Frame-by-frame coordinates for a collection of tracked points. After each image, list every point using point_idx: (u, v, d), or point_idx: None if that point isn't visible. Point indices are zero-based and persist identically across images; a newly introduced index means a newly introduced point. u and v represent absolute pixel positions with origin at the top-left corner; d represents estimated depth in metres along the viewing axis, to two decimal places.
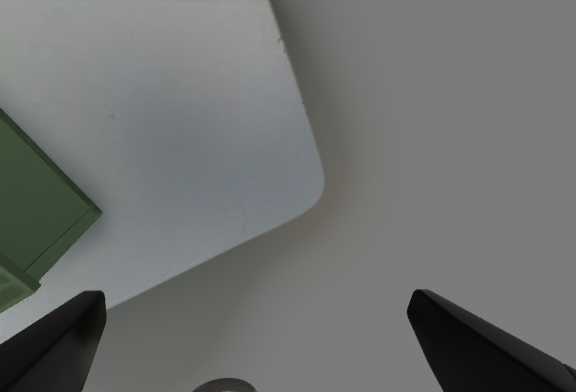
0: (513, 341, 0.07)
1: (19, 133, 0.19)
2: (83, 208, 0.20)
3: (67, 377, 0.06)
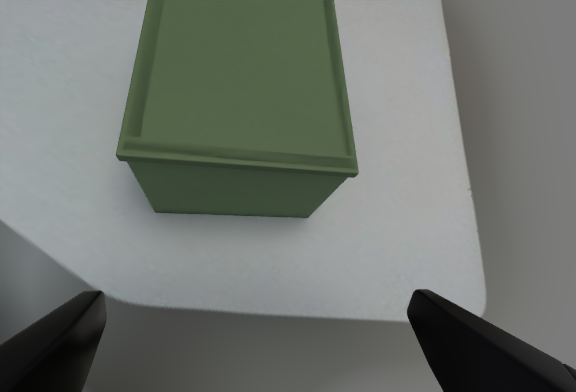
0: (513, 341, 0.07)
1: None
2: None
3: (67, 377, 0.06)
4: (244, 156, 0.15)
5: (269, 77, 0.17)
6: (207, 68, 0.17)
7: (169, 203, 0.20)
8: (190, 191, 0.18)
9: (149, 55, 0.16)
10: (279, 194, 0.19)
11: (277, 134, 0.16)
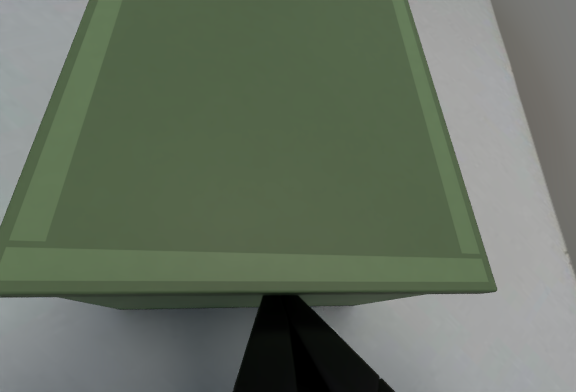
0: (339, 351, 0.06)
1: None
2: None
3: None
4: (278, 272, 0.07)
5: (316, 102, 0.10)
6: (204, 85, 0.09)
7: (138, 306, 0.12)
8: (171, 301, 0.10)
9: (92, 60, 0.08)
10: (326, 298, 0.11)
11: (339, 215, 0.08)
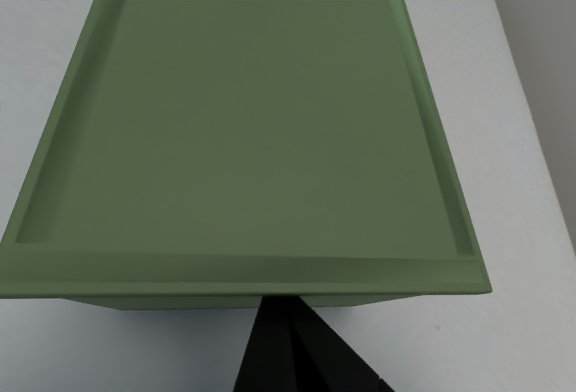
0: (339, 351, 0.06)
1: None
2: None
3: None
4: (277, 274, 0.07)
5: (315, 105, 0.10)
6: (205, 90, 0.09)
7: (139, 306, 0.12)
8: (171, 301, 0.10)
9: (95, 65, 0.08)
10: (325, 299, 0.11)
11: (337, 217, 0.08)
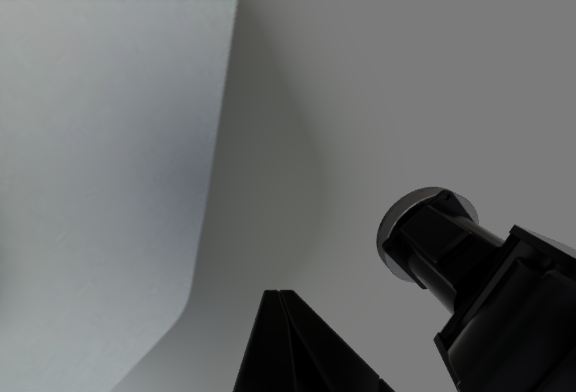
0: (339, 351, 0.06)
1: None
2: None
3: None
4: None
5: None
6: None
7: None
8: None
9: None
10: None
11: None
